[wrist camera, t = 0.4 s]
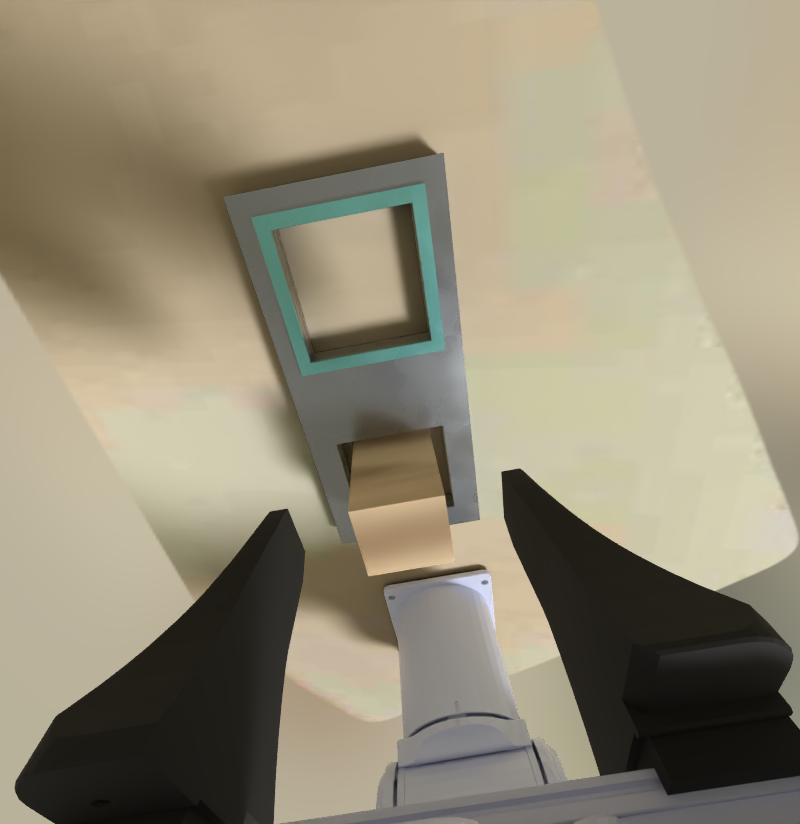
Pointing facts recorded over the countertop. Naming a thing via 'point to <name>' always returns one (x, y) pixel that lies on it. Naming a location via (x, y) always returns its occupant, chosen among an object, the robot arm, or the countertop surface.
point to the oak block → (399, 503)
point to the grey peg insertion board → (377, 361)
